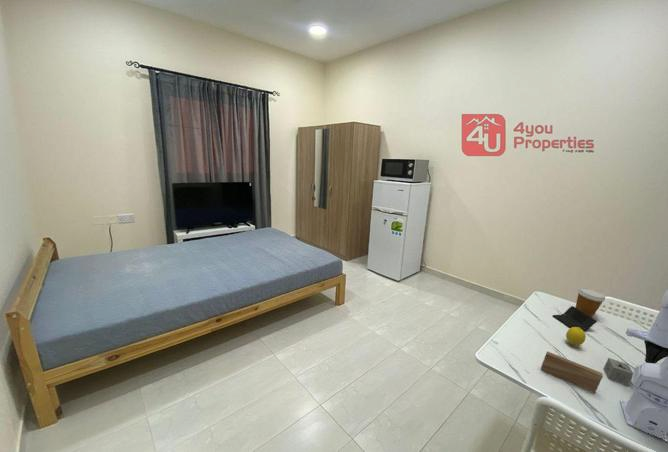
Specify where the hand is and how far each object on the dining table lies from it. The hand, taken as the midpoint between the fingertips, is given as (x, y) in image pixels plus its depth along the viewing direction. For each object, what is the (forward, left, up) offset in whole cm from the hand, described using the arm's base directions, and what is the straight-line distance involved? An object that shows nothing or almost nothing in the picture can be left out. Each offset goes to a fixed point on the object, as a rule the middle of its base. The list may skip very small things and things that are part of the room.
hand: (648, 363), depth 88 cm
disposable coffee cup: (+42, +10, -10) cm, 44 cm away
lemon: (+11, +16, -10) cm, 22 cm away
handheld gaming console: (+29, +15, -10) cm, 34 cm away
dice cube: (0, +5, -10) cm, 11 cm away
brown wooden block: (-13, +19, -9) cm, 25 cm away
